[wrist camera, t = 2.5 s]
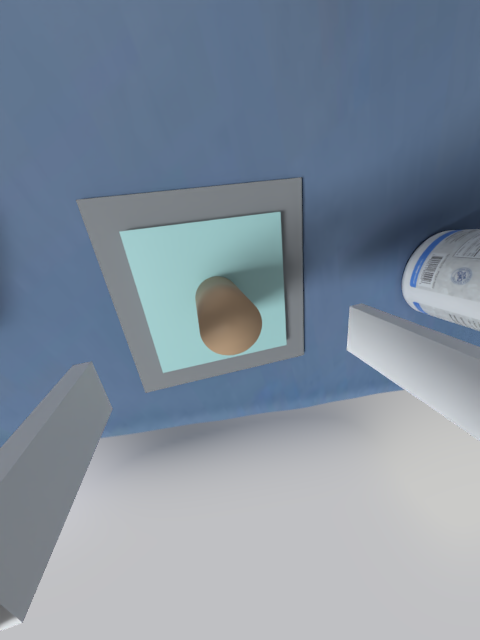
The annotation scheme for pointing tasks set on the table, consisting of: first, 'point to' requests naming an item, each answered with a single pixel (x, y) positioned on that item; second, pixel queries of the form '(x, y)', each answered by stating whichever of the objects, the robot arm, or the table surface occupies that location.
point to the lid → (210, 287)
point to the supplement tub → (446, 277)
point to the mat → (188, 207)
